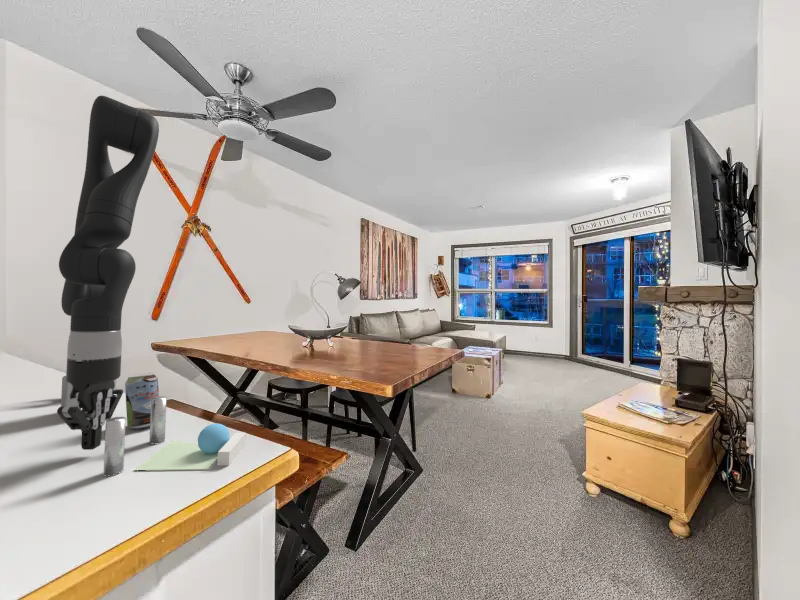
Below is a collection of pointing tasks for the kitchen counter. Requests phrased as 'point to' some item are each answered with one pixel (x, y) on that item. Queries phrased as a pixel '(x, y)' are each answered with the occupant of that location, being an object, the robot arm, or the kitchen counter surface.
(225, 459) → the stopper wall
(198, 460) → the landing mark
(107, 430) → the post
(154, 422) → the post
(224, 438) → the ball
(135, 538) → the kitchen counter surface
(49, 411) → the kitchen counter surface
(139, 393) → the beverage can
